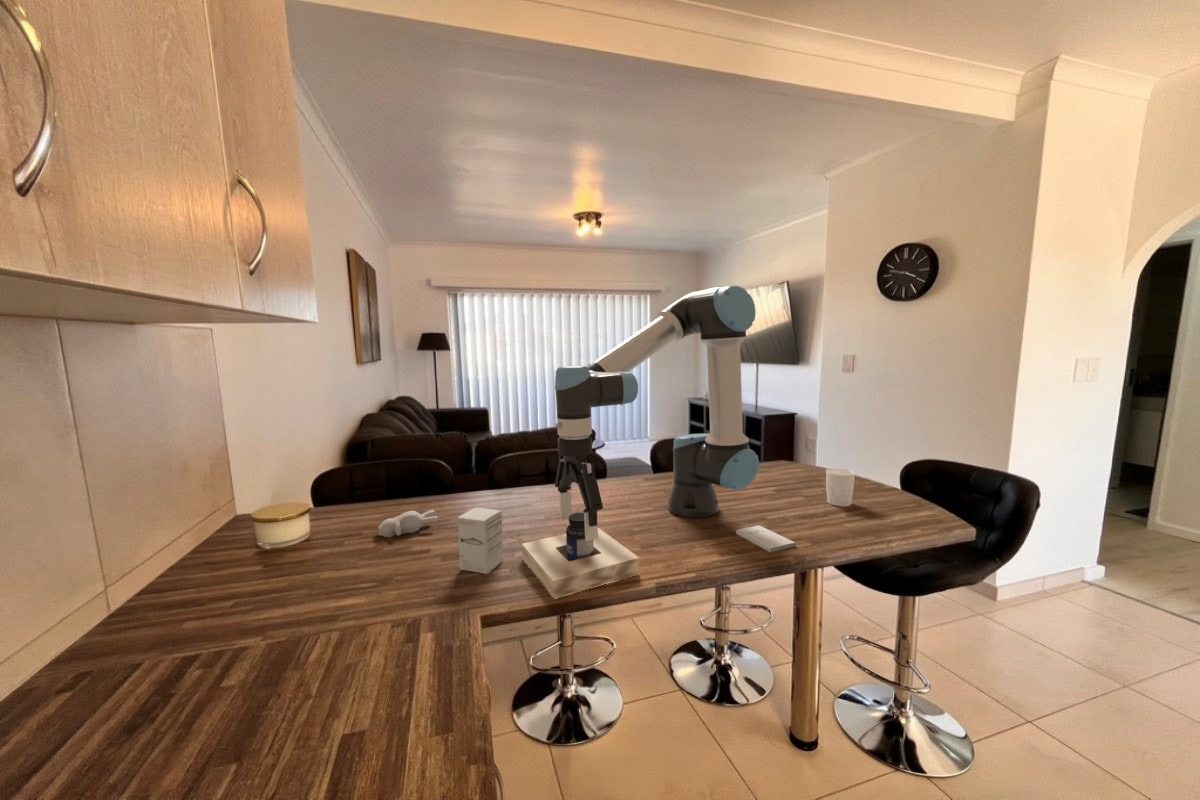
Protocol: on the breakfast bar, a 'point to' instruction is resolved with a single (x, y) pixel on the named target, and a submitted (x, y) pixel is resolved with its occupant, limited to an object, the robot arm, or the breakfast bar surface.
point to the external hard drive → (765, 538)
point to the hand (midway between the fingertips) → (578, 528)
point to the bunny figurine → (405, 523)
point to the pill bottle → (577, 538)
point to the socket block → (578, 564)
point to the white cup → (839, 486)
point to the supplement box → (480, 540)
